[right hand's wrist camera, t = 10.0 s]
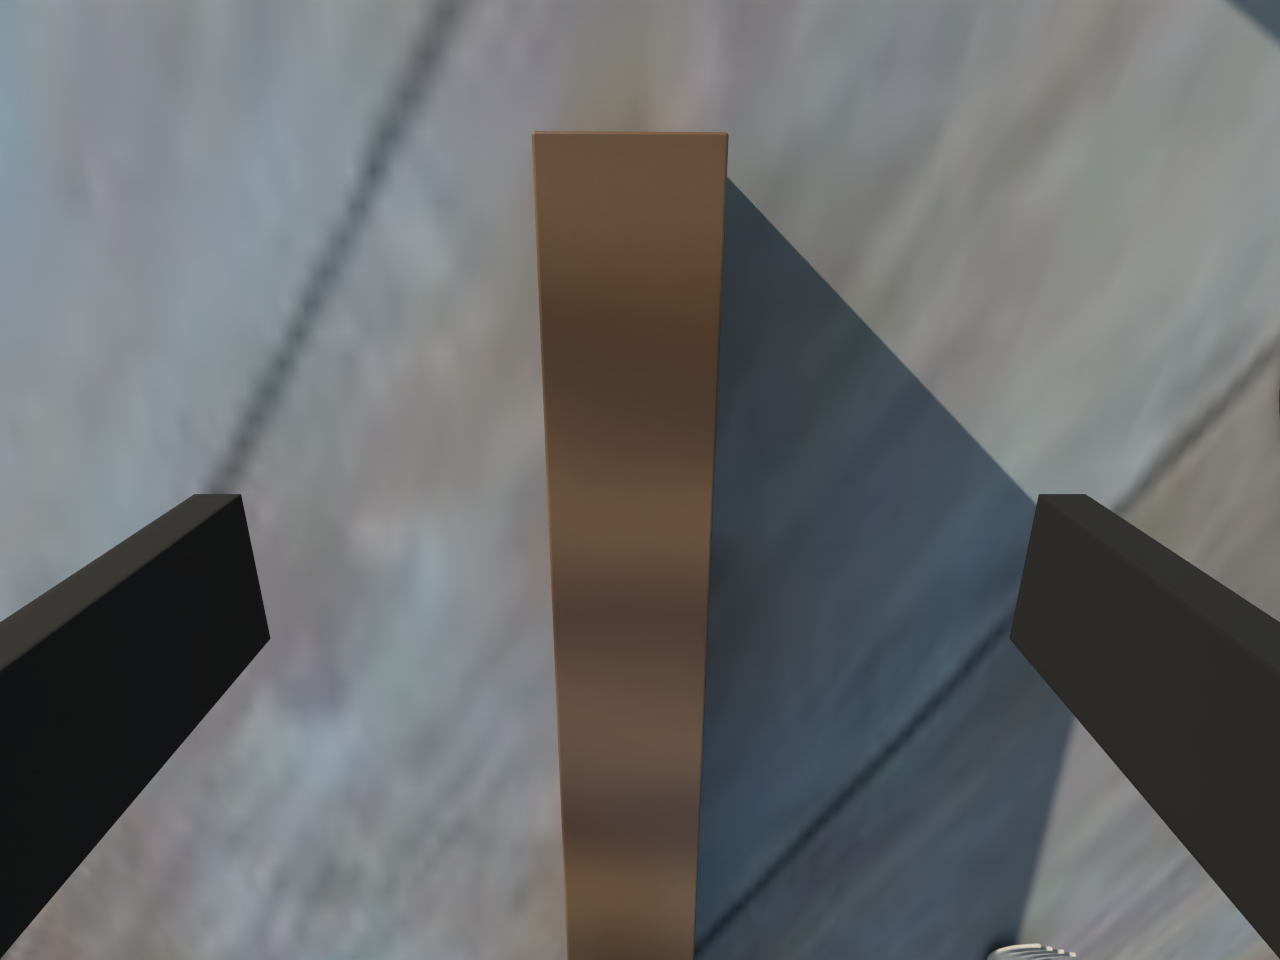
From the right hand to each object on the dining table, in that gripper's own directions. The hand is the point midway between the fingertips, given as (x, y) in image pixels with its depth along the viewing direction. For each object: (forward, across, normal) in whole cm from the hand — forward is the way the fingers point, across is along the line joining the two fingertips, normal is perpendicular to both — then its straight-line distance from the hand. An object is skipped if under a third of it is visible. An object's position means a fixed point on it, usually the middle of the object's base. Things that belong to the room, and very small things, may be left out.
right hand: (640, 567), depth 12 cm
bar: (+18, 0, -34) cm, 39 cm away
